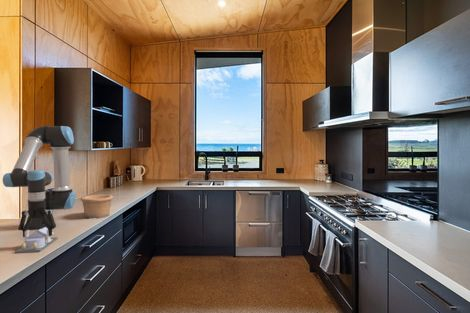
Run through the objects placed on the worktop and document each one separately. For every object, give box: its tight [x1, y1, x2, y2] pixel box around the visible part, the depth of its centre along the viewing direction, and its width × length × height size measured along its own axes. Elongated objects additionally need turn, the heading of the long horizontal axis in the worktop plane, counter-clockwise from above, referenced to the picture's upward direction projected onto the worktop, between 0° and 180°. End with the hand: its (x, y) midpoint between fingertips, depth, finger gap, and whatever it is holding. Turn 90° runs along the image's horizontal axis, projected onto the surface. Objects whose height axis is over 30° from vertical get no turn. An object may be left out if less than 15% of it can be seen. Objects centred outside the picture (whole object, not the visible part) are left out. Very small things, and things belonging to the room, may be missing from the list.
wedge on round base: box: [24, 227, 54, 247], centre depth 159 cm, size 9×7×13 cm
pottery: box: [80, 194, 114, 219], centre depth 227 cm, size 22×22×14 cm
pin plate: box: [14, 236, 59, 254], centre depth 159 cm, size 21×11×4 cm, turn 9°
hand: (37, 242), depth 159 cm, fingers closed on wedge on round base, 10 cm apart
